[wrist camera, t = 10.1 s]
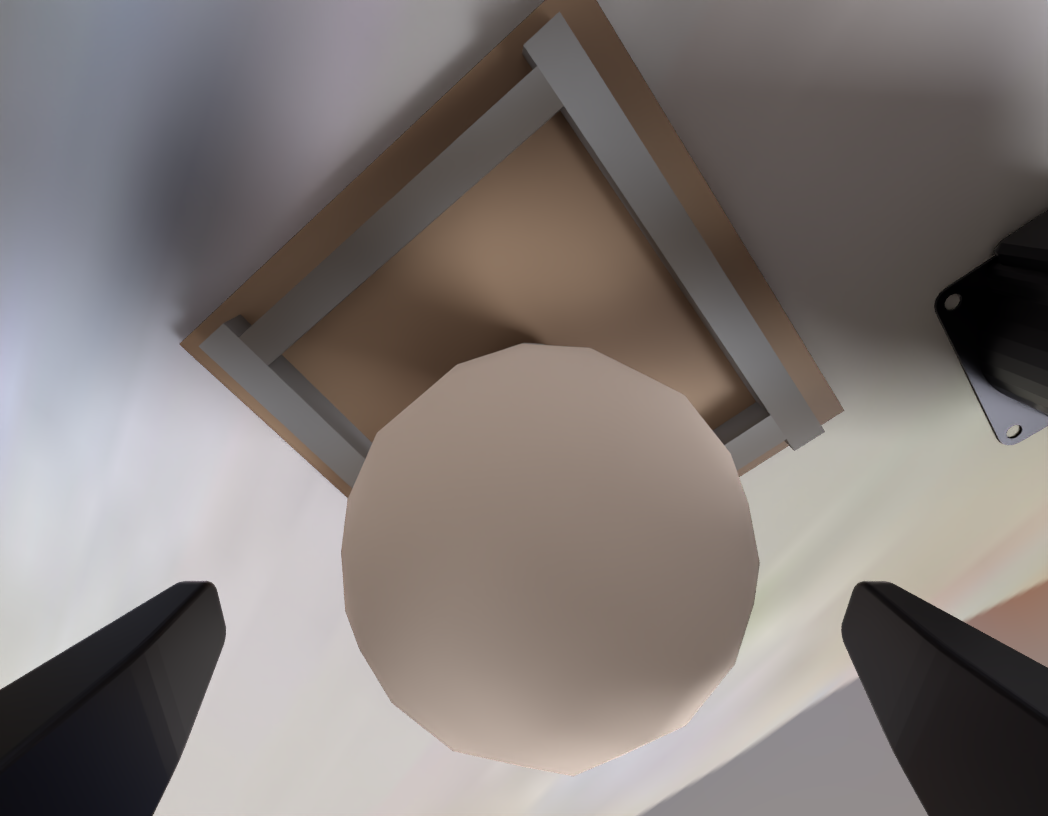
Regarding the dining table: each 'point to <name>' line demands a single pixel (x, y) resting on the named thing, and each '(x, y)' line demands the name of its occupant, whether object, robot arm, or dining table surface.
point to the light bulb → (548, 559)
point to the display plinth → (517, 263)
